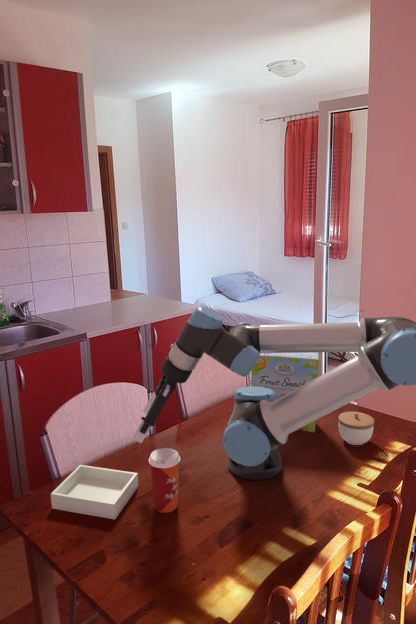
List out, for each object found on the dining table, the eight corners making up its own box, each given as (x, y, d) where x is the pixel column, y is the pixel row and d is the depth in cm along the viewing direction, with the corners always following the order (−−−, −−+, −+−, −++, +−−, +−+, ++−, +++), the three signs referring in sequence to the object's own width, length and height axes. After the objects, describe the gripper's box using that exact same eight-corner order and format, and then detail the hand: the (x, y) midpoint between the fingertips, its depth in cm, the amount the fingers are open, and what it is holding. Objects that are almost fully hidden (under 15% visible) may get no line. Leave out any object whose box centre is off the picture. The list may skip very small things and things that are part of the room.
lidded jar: (377, 449, 145) (379, 421, 143) (341, 449, 145) (343, 421, 143) (366, 433, 155) (368, 406, 153) (333, 433, 155) (335, 406, 153)
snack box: (249, 427, 160) (250, 354, 154) (253, 416, 168) (253, 346, 163) (316, 434, 155) (319, 358, 150) (316, 422, 164) (319, 350, 158)
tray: (138, 486, 127) (137, 473, 126) (114, 519, 114) (113, 504, 113) (81, 477, 131) (80, 464, 130) (51, 508, 118) (50, 493, 117)
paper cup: (176, 517, 114) (175, 464, 111) (146, 513, 116) (144, 461, 113) (185, 498, 122) (183, 448, 119) (156, 495, 123) (154, 445, 120)
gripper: (174, 337, 132) (139, 396, 138) (159, 376, 108) (117, 446, 114) (197, 350, 132) (161, 409, 139) (188, 392, 109) (145, 460, 115)
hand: (142, 425), depth 126 cm, fingers open, 13 cm apart
